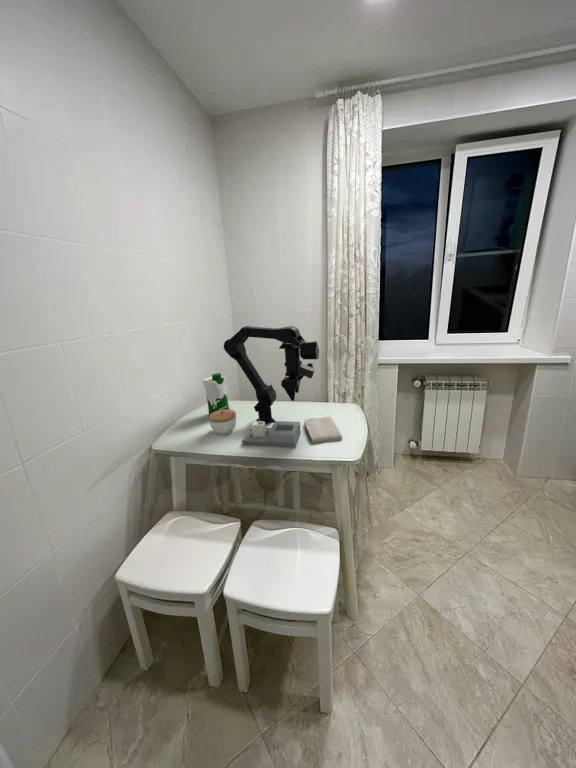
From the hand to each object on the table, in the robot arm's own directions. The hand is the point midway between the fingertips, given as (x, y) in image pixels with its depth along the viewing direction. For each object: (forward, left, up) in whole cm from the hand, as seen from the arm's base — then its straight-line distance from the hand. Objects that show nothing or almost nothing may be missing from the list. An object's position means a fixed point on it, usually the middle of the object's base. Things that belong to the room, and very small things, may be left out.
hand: (295, 396), depth 120 cm
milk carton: (-30, -25, -12) cm, 41 cm away
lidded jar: (-11, -28, -12) cm, 32 cm away
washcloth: (+12, +5, -13) cm, 18 cm away
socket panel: (+7, -14, -12) cm, 20 cm away
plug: (+3, -18, -12) cm, 22 cm away
